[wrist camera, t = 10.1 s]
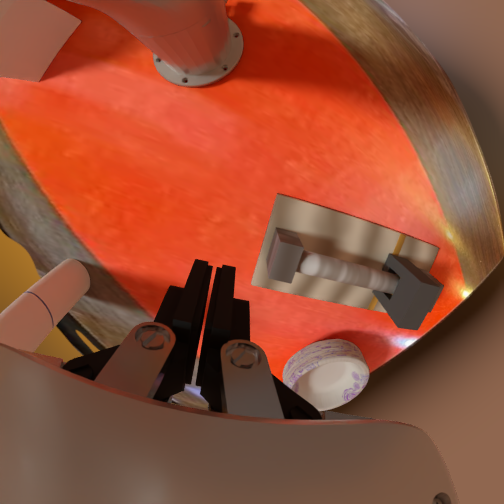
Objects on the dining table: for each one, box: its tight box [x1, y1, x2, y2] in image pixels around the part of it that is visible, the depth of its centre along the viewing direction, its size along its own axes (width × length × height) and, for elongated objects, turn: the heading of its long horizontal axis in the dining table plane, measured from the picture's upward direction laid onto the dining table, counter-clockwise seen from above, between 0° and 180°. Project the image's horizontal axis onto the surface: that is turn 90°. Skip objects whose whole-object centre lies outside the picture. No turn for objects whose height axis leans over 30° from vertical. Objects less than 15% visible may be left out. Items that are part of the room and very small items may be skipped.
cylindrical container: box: [0, 259, 90, 352], centre depth 30 cm, size 7×7×25 cm
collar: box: [372, 253, 440, 330], centre depth 35 cm, size 4×7×10 cm, turn 165°
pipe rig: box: [251, 193, 444, 313], centre depth 37 cm, size 30×14×7 cm, turn 75°
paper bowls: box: [283, 339, 369, 411], centre depth 44 cm, size 15×15×8 cm
